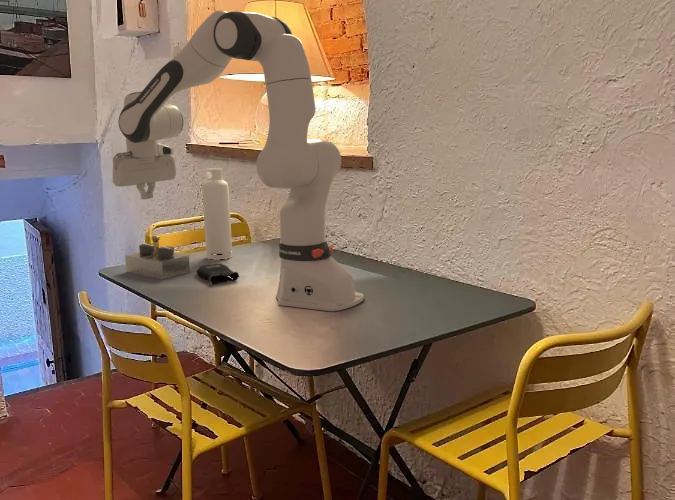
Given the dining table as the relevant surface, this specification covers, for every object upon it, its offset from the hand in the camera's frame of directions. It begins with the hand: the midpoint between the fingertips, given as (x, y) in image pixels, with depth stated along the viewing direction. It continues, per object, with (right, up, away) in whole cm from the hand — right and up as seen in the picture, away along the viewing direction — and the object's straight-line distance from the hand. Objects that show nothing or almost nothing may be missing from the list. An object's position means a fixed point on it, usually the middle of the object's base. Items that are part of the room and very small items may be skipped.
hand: (147, 198), depth 199 cm
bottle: (+17, -17, +20) cm, 31 cm away
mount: (+2, -21, +3) cm, 22 cm away
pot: (+2, -16, +2) cm, 17 cm away
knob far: (-1, -20, +5) cm, 21 cm away
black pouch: (+21, -23, -4) cm, 31 cm away
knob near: (+6, -21, 0) cm, 22 cm away
